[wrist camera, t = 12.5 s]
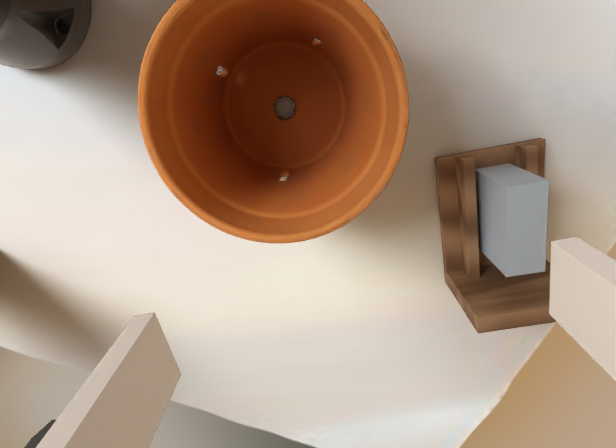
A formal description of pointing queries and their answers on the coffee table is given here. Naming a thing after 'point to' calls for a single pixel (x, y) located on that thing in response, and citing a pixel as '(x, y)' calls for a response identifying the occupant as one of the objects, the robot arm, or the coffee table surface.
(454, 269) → the track
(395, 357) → the coffee table surface
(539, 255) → the blue-gray rectangular block
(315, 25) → the flower pot
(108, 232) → the coffee table surface
